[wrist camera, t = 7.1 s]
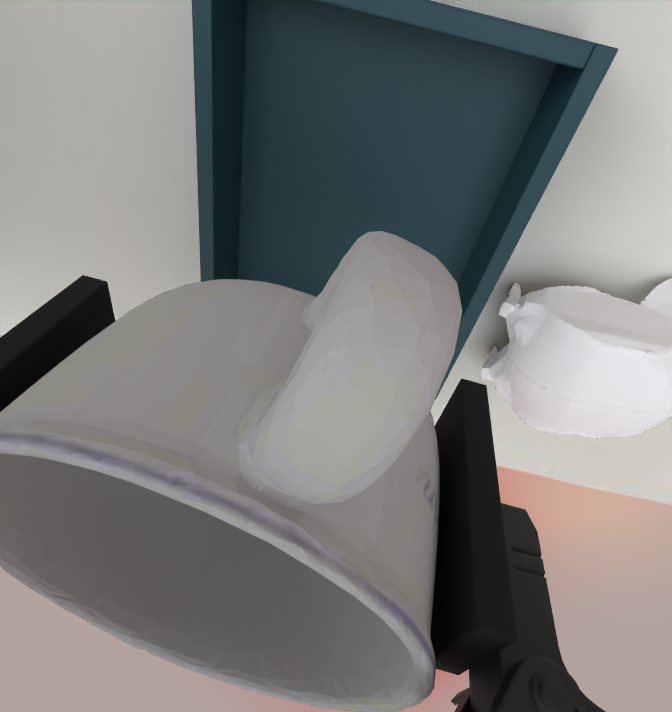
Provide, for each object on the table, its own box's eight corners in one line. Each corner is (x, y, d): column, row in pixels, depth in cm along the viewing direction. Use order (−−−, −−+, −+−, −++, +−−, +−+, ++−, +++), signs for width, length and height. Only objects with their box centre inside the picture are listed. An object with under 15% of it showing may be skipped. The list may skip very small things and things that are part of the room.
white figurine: (498, 346, 32) (737, 426, 26) (461, 415, 27) (753, 537, 21) (532, 242, 27) (845, 313, 21) (495, 303, 21) (906, 424, 15)
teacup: (314, 496, 19) (255, 716, 13) (99, 363, 16) (-102, 569, 10) (619, 332, 11) (822, 718, 5) (297, -3, 8) (-149, -28, 2)
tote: (229, 299, 30) (202, 337, 27) (236, -49, 18) (189, -62, 15) (435, 355, 30) (435, 400, 27) (584, 40, 18) (619, 48, 15)
